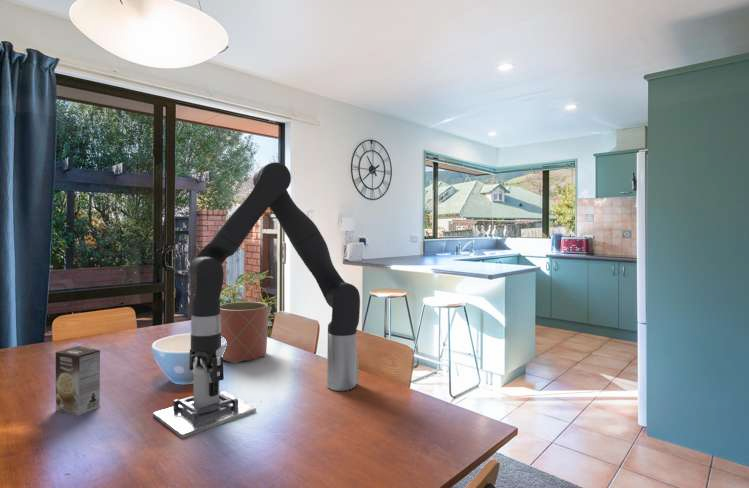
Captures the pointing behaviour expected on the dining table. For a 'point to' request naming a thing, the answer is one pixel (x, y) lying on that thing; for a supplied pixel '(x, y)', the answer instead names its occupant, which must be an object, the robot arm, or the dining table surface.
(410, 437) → the dining table surface
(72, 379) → the coffee box
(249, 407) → the collar stand
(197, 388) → the beverage can
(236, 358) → the planter
